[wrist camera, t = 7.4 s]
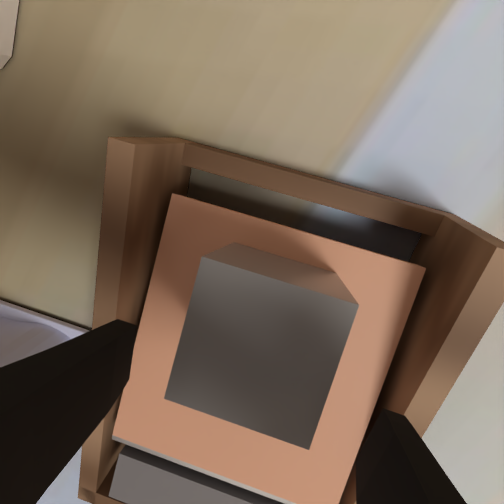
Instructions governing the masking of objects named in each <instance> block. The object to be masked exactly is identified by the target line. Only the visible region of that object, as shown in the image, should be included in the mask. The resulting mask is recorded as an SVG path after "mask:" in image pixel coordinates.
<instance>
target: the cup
mask: <svg viewBox="0 0 504 504" xmlns="http://www.w3.org/2000/svg"><path fill="white" fill-rule="evenodd" d="M18 5H19V0H0V69H2V68H3V66H4V65H5V64H6V63H7V61H8V60H9V59H10V58H11V57H12V50H13V42H14V35H15V27H16V20H17V13H18Z"/></svg>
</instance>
